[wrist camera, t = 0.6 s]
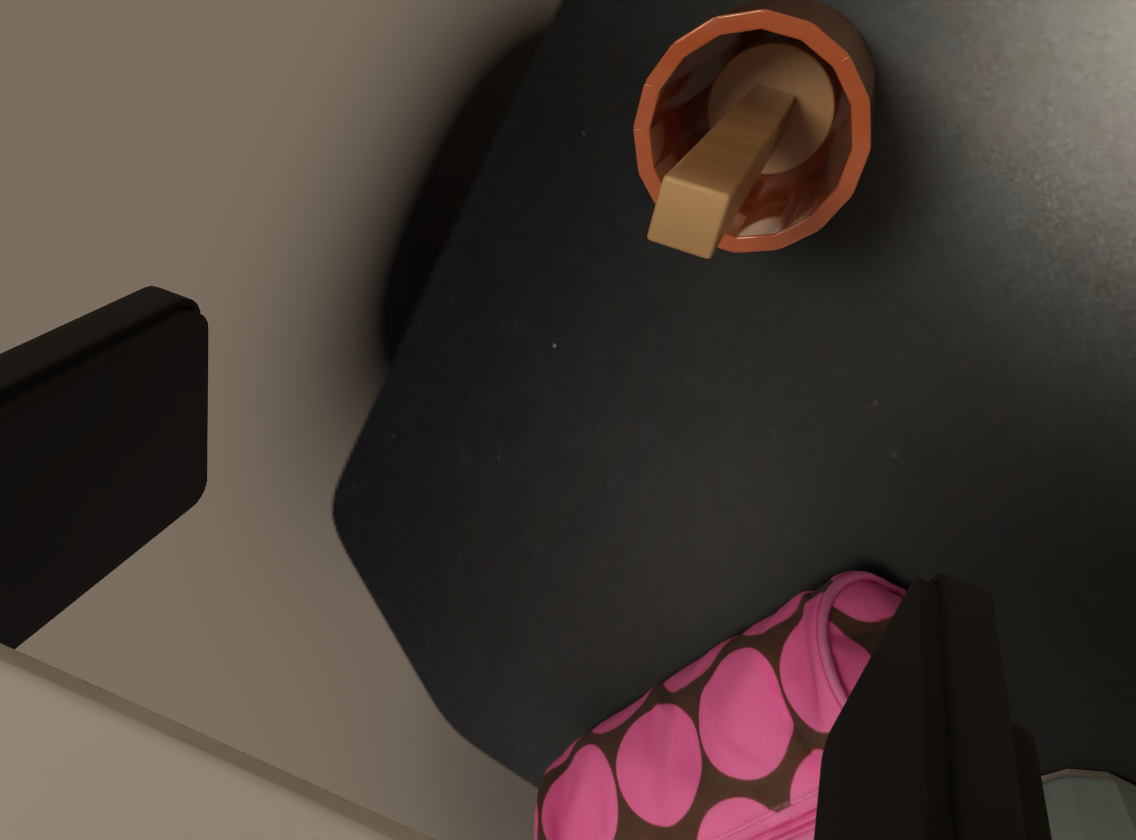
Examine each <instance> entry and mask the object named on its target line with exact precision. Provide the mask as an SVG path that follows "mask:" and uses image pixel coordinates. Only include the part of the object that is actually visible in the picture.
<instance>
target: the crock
mask: <svg viewBox="0 0 1136 840" xmlns="http://www.w3.org/2000/svg"><path fill="white" fill-rule="evenodd" d="M777 36H787V37H791V38H794V39H798V40H801V41H803V42H804V43H805V44H806V45H807V46H809V47H810V48H811V49H812V50H813V51H814V52H816V53H817V54H818V55H819V56H820V57H821V58H822V59H824V60H825V61H826V62H827V63H828V64H829V65H831V66H832V68H833V70H834V72H835V75H836V78H837V82H838V89H839V102H838V108H837V112H836V116H835V119H834V122H833V124H832V127H831V130H830V132H829V134H828V137H827V138H826V140H825V142H824V143H823V145H822V146H821V148H820V149H819V150H818V151H817V152H816V153H815V154H814V155H813V156H812V157H811V158H810V159H809V160H808V161H806V162H805V163H804V164H802V165H800V166H798V167H797V168H794V169H792V170H790V171H787V172H783V173H779V174H770V175H764V174H760V175H759V177H758V179H757V180H756V182H755V184H754V186H753V187H752V189H751V191H750V192H749V194H748V196H747V197H746V199H745V201H744V202H743V204H742V206H741V208H740V209H739V211H738V213H737V214H736V216H735V218H734V219H733V221H732V223H731V224H730V226H729V228H728V230H727V231H726V233H725V235H724V236H723V238H722V240H721V241H720V243H719V245H718V246H717V248H720V249H723V250H726V251H729V252H735V253H742V252H757V251H772V250H778V249H782V248H784V247H786V246H788V245H790V244H792V243H794V242H797V241H799V240H801V239H803V238H805V237H807V236H809V235H811V234H813V233H815V232H818V231H819V229H822V228H823V227H824V226H825V225H826V224H827V222H828V221H829V220H830V219H831V218H832V217H833V216H834V215H835V214H836V213H837V212H838V211H839V210H840V209H841V208H842V207H843V205H844V204H845V203H846V202H847V201H848V200H849V199H850V198H851V197H852V195H853V194H854V192H855V189H856V186H857V184H858V181H859V179H860V176H861V174H862V171H863V169H864V166H865V164H866V161H867V159H868V156H869V153H870V149H871V144H872V136H873V127H874V119H875V111H876V73H875V66H874V64H873V62H872V59H871V56H870V54H869V51H868V48H867V46H866V45H865V43H864V41H863V39H862V37H861V35H860V33H858V30H856V29H855V28H854V26H853V25H852V24H851V23H850V22H849V21H848V20H847V19H846V18H844V17H843V16H842V15H840V14H839V13H838V12H836V11H835V10H833V9H832V8H831V7H828V6H827V5H824V4H821V3H819V2H816V1H813V0H759V1H753V2H751V3H748V4H745V5H743V6H740V7H738V8H735V9H733V10H730V11H728V12H725V13H723V14H720V15H718V16H715V17H713V18H711V19H710V20H708V21H706V22H705V23H703V24H702V25H700V26H698V27H697V28H695V29H694V30H692V31H690V32H689V33H687V34H686V35H684V36H683V37H681V38H679V39H678V40H676V41H675V42H674V43H673V44H672V45H671V46H670V47H669V49H668V50H667V52H666V53H665V54H664V56H663V57H662V59H661V60H660V61H659V63H658V64H657V66H656V67H655V68H654V70H653V71H652V73H651V74H650V75H649V77H648V78H647V79H646V83H645V84H644V87H643V91H642V95H641V99H640V102H639V106H638V110H637V114H636V118H635V122H634V129H633V131H634V140H635V148H636V156H637V164H638V171H639V172H640V173H639V175H640V177H641V179H642V180H643V182H644V184H645V186H646V188H647V190H648V192H649V193H650V195H651V197H652V199H653V201H654V203H655V205H656V202H657V198H658V195H659V191H660V187H661V184H662V180H663V178H664V176H665V175H666V174H667V173H668V172H669V171H670V170H671V169H672V168H673V167H674V166H675V165H676V164H677V163H678V162H679V161H680V160H681V159H682V158H683V157H684V156H685V155H686V154H687V153H688V152H689V151H690V150H691V149H692V148H693V147H694V146H695V145H696V144H697V143H698V142H699V141H700V140H701V139H702V138H703V137H704V136H705V135H706V134H707V133H708V132H709V129H708V125H707V118H706V107H707V99H708V95H709V91H710V88H711V86H712V83H713V81H714V79H715V77H716V76H717V74H718V73H719V71H720V70H721V68H722V67H723V66H724V65H725V64H726V63H727V62H728V61H729V60H730V59H731V58H732V57H733V56H735V55H736V54H738V53H739V52H741V51H742V50H743V49H745V48H746V47H748V46H749V45H751V44H753V43H755V42H757V41H760V40H762V39H765V38H770V37H777Z"/></svg>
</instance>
